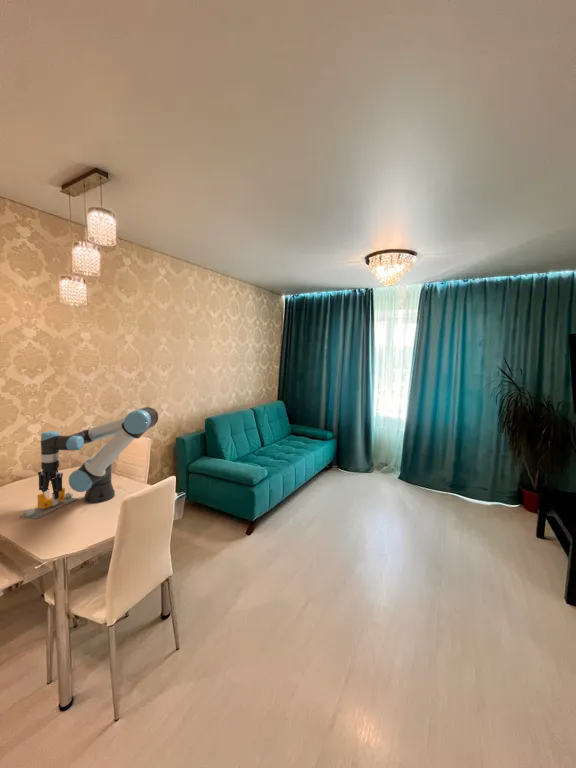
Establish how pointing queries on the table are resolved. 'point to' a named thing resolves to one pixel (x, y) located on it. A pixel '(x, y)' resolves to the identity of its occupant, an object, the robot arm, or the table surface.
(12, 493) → the table surface
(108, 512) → the table surface
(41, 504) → the pipe clamp
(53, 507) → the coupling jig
